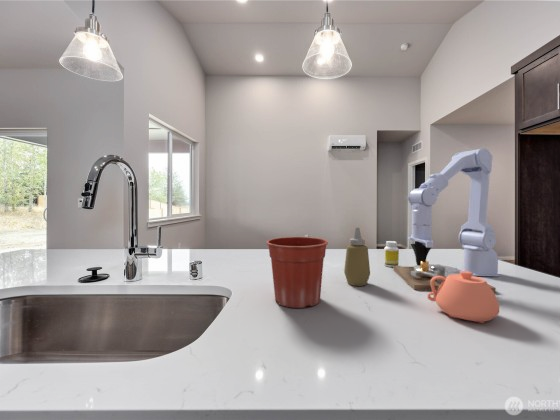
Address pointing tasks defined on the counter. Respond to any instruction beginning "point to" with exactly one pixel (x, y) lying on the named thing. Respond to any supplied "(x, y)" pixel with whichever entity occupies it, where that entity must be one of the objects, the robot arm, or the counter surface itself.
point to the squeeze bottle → (357, 261)
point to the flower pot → (297, 270)
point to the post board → (421, 279)
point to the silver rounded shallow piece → (432, 270)
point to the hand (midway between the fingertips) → (420, 265)
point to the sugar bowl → (465, 297)
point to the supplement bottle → (391, 254)
